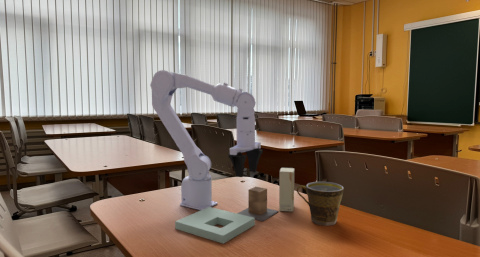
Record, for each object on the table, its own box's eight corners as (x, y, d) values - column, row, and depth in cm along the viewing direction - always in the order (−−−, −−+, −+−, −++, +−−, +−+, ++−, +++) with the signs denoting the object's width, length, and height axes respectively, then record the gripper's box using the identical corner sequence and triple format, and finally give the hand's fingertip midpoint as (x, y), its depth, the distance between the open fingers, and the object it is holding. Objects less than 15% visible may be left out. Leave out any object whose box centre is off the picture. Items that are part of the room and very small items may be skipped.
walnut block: (248, 212, 101) (248, 189, 100) (255, 209, 104) (255, 186, 104) (260, 215, 99) (260, 191, 98) (267, 211, 102) (267, 188, 101)
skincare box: (293, 212, 103) (293, 172, 101) (278, 211, 103) (279, 171, 102) (294, 205, 109) (294, 167, 108) (280, 204, 110) (280, 167, 108)
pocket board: (175, 228, 90) (175, 221, 90) (209, 213, 102) (209, 206, 102) (223, 243, 81) (223, 235, 81) (254, 224, 93) (254, 217, 93)
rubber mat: (236, 214, 101) (236, 213, 100) (253, 206, 108) (253, 205, 108) (262, 221, 95) (263, 219, 95) (278, 212, 103) (278, 210, 103)
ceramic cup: (345, 218, 97) (346, 184, 96) (338, 231, 89) (339, 193, 88) (301, 211, 104) (302, 178, 102) (290, 222, 95) (291, 187, 94)
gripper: (243, 134, 98) (243, 180, 100) (268, 129, 110) (268, 171, 111) (223, 133, 102) (224, 177, 104) (250, 128, 114) (250, 168, 115)
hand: (246, 174), depth 108 cm, fingers open, 7 cm apart
